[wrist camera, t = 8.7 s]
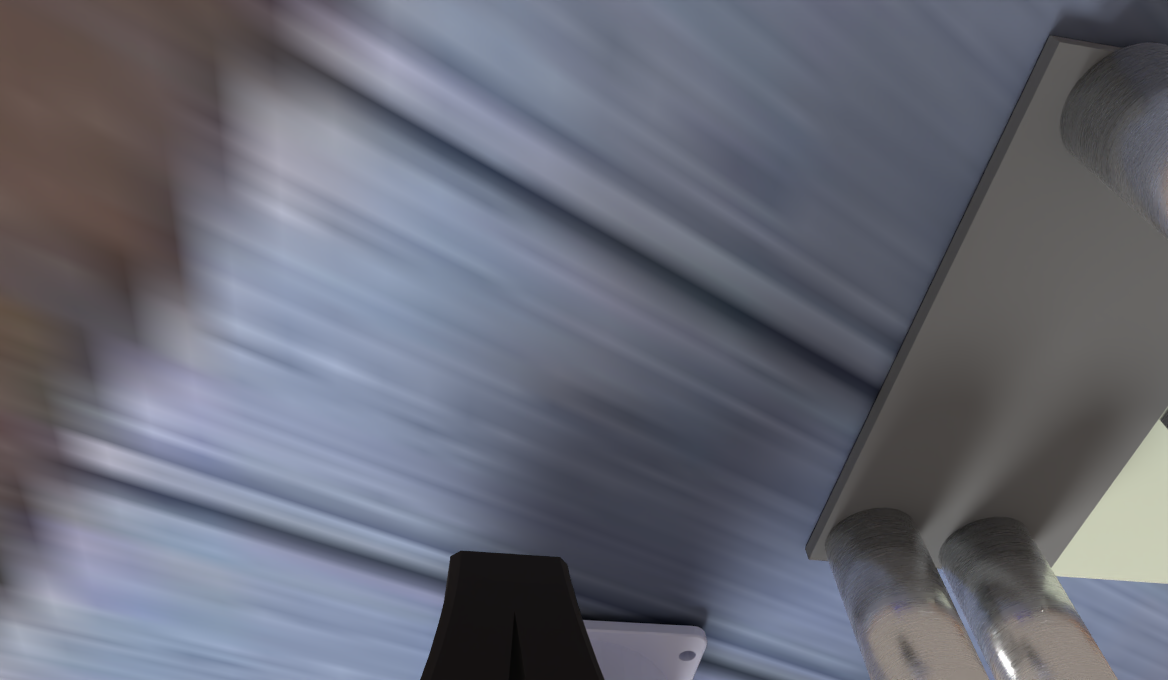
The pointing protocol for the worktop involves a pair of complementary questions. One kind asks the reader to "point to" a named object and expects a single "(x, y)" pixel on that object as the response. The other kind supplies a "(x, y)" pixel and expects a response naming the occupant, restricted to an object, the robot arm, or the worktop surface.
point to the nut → (1165, 418)
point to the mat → (1032, 364)
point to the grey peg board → (1000, 544)
